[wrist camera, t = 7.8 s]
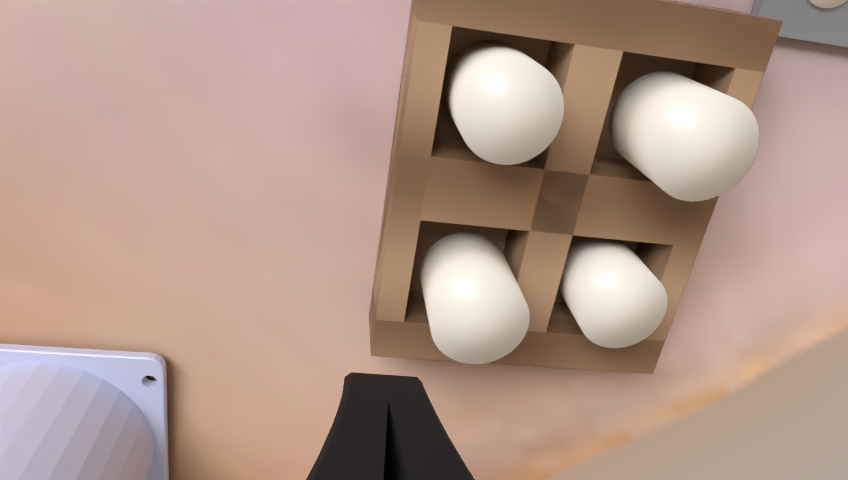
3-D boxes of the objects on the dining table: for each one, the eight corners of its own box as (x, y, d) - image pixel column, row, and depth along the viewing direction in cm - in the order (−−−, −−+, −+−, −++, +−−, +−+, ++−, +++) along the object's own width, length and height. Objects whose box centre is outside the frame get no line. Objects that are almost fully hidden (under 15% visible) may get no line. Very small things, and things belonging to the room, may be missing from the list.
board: (626, 335, 25) (652, 373, 23) (369, 316, 23) (371, 356, 21) (736, 11, 20) (783, 20, 18) (417, -42, 18) (426, -38, 16)
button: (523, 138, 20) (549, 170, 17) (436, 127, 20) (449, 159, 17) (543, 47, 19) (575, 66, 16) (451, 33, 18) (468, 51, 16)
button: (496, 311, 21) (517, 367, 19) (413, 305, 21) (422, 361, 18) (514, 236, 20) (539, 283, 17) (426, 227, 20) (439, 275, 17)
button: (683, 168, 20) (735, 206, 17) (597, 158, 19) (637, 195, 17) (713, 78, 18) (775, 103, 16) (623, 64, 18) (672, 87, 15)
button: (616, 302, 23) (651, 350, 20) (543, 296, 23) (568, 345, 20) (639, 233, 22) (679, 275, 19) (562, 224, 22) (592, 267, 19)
